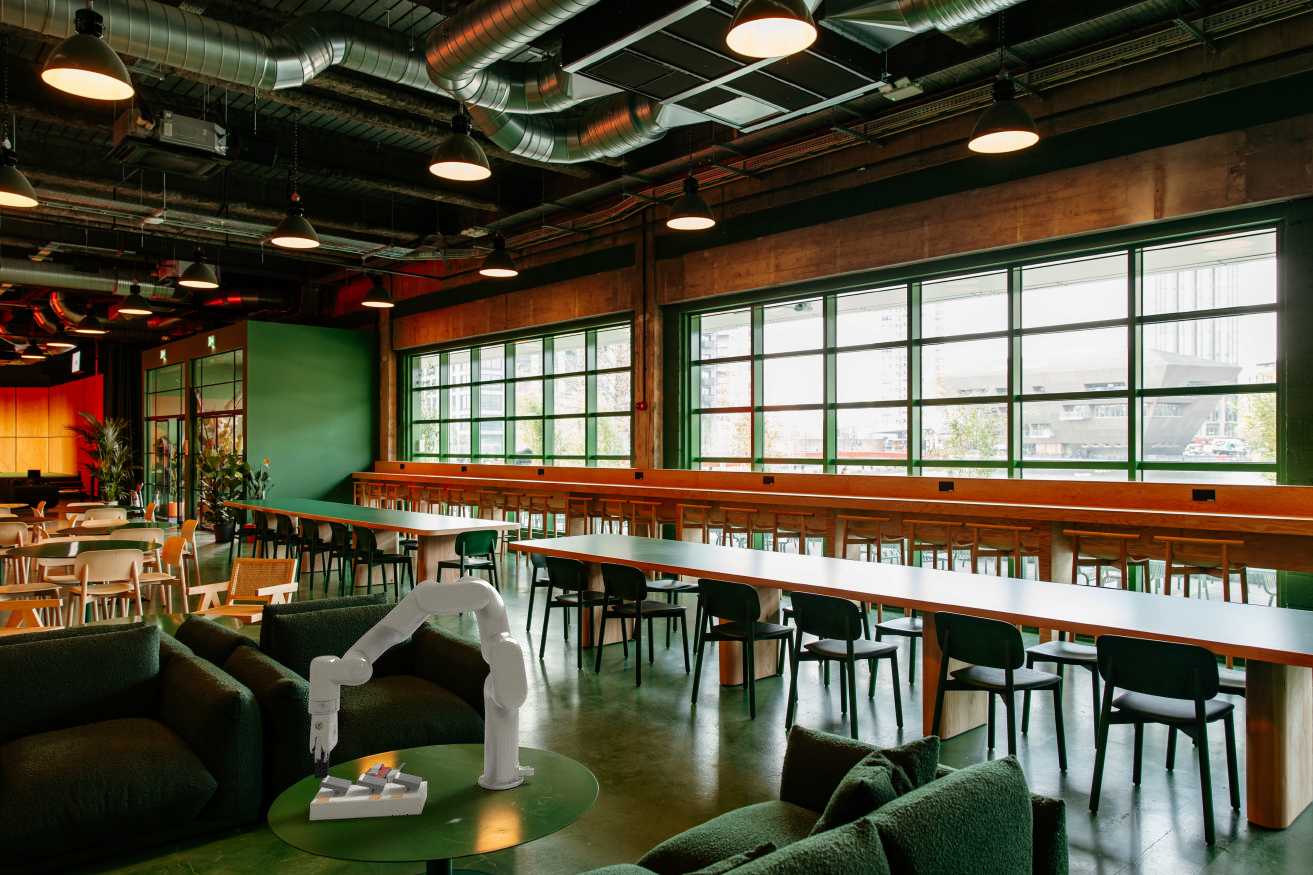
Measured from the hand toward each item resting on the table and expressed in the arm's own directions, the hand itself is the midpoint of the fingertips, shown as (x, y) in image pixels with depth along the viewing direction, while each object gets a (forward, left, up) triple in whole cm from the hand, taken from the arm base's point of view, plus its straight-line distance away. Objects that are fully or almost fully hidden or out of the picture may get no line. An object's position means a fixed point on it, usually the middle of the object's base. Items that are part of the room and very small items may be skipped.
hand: (321, 776), depth 209 cm
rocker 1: (-4, 0, -2) cm, 4 cm away
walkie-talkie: (-12, -21, -9) cm, 25 cm away
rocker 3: (-22, 0, -2) cm, 22 cm away
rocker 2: (-13, 0, -2) cm, 13 cm away
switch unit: (-13, +1, -8) cm, 15 cm away
